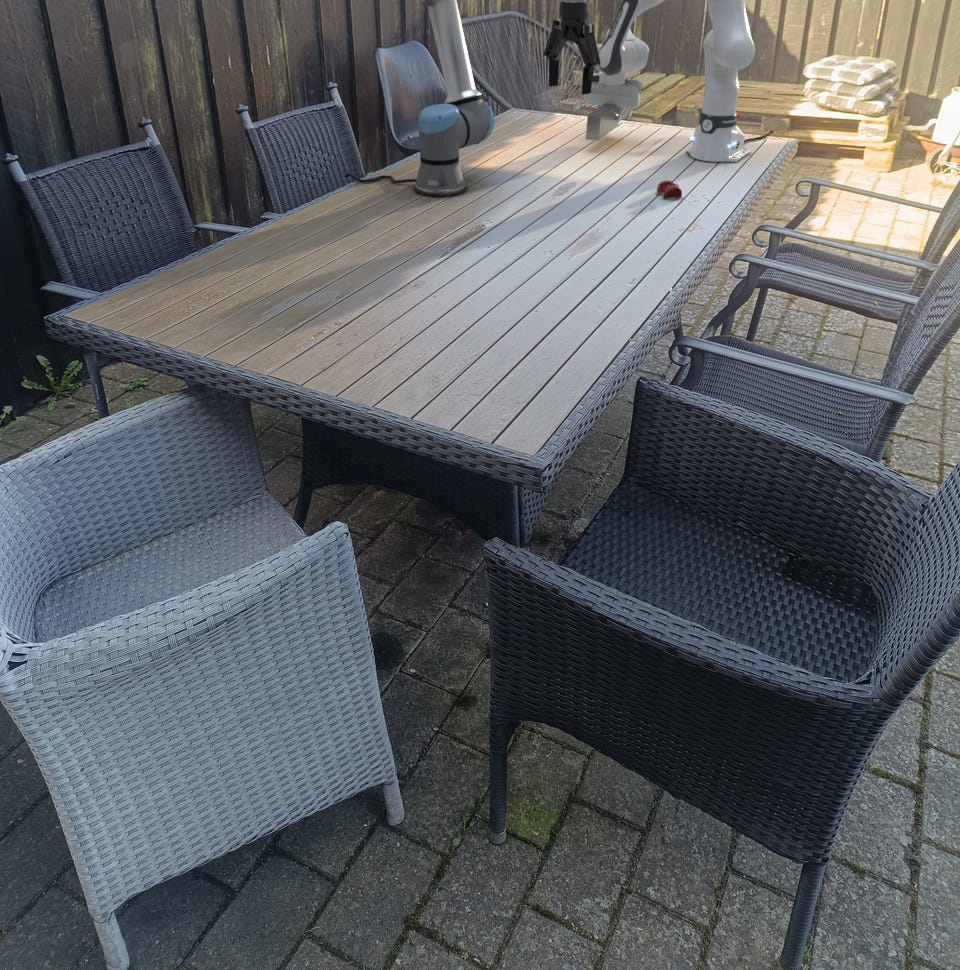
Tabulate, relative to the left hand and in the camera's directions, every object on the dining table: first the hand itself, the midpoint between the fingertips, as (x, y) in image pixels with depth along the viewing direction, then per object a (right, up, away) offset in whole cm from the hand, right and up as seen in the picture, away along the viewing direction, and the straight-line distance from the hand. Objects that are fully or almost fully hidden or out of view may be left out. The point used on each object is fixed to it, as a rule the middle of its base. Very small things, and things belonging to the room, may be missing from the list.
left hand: (569, 89), depth 231 cm
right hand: (+23, +25, +75) cm, 82 cm away
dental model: (+32, -21, +23) cm, 45 cm away
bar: (+19, +18, +70) cm, 75 cm away
